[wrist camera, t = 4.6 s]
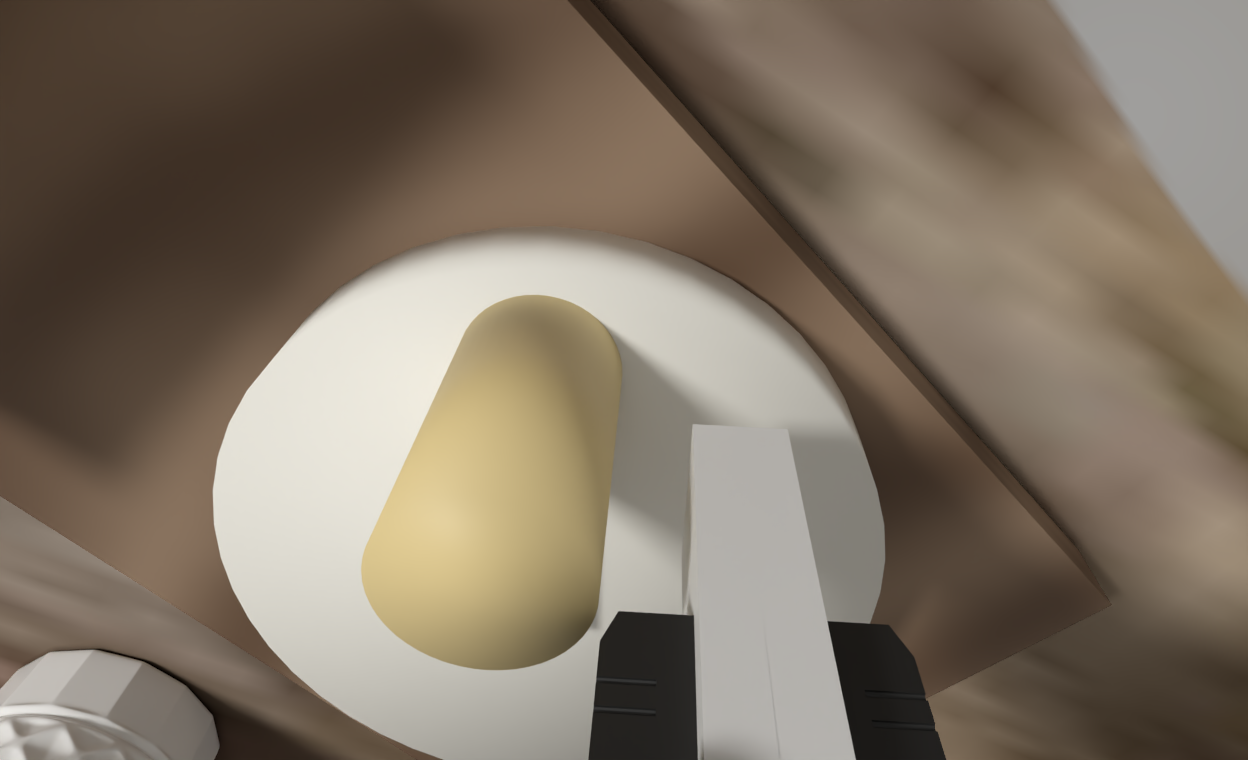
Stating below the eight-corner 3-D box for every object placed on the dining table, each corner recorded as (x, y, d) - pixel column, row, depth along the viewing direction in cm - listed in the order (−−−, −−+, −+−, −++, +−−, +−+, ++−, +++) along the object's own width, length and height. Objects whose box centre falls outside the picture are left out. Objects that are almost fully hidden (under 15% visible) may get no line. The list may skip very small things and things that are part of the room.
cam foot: (819, 728, 23) (875, 1059, 17) (310, 698, 23) (171, 1009, 17) (924, 240, 16) (1095, 489, 9) (188, 211, 16) (-129, 429, 10)
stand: (1077, 548, 22) (1292, 904, 15) (593, 810, 29) (563, 1145, 21) (194, -446, 13) (-485, -905, 5) (-207, 275, 20) (-759, 523, 12)
